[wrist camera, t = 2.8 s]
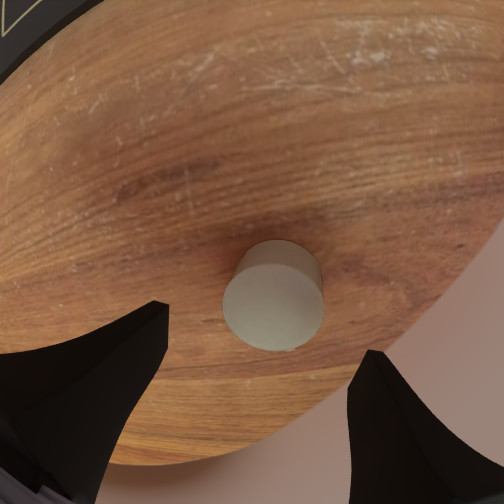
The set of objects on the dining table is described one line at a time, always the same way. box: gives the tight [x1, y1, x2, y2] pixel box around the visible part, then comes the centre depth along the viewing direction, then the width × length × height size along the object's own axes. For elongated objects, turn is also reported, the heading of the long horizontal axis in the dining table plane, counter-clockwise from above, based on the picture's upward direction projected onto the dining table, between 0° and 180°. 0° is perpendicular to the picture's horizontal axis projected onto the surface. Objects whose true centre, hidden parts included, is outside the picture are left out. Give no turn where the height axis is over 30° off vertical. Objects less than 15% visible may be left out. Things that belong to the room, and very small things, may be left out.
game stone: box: [222, 240, 325, 351], centre depth 14 cm, size 4×4×3 cm
